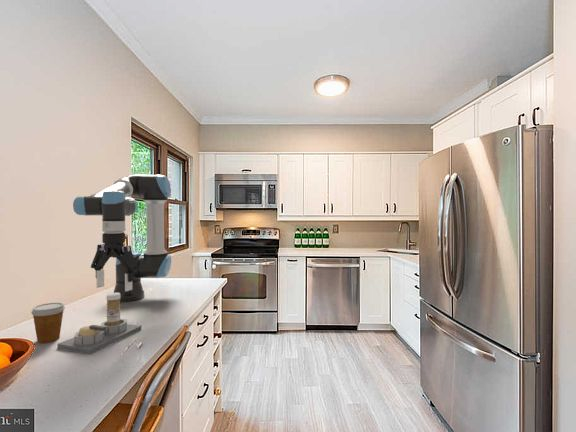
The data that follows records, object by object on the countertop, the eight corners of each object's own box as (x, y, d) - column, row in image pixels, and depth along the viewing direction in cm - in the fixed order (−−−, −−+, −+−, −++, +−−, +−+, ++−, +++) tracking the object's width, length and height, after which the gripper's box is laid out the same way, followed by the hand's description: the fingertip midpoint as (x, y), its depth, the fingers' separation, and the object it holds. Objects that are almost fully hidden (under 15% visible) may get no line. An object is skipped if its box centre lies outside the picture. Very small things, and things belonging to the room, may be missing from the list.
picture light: (135, 339, 113) (135, 333, 113) (147, 339, 114) (147, 333, 114) (118, 357, 100) (118, 351, 99) (133, 357, 100) (133, 350, 100)
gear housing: (112, 325, 126) (112, 309, 126) (141, 329, 121) (141, 313, 121) (57, 348, 105) (57, 328, 105) (89, 354, 101) (89, 334, 100)
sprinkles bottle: (106, 332, 115) (105, 295, 115) (107, 328, 119) (107, 292, 119) (120, 330, 117) (119, 294, 116) (121, 326, 121) (120, 291, 121)
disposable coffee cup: (46, 333, 117) (46, 301, 116) (71, 334, 116) (71, 302, 116) (24, 344, 107) (23, 310, 107) (51, 345, 107) (51, 310, 107)
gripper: (79, 231, 117) (80, 288, 118) (132, 234, 110) (133, 294, 110) (97, 230, 125) (97, 283, 125) (148, 232, 117) (148, 289, 118)
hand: (114, 288), depth 118 cm, fingers open, 13 cm apart
